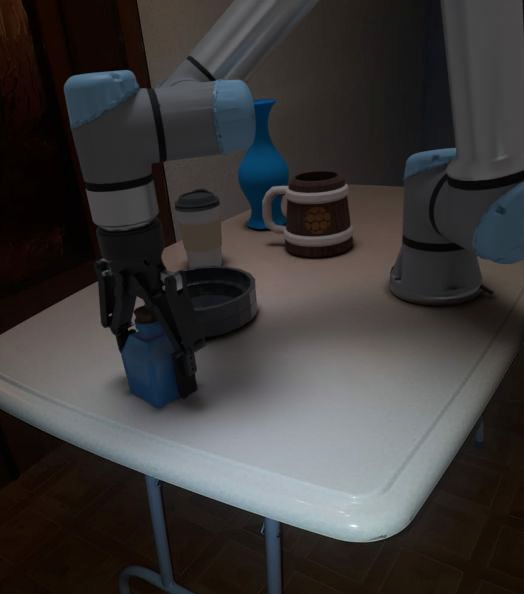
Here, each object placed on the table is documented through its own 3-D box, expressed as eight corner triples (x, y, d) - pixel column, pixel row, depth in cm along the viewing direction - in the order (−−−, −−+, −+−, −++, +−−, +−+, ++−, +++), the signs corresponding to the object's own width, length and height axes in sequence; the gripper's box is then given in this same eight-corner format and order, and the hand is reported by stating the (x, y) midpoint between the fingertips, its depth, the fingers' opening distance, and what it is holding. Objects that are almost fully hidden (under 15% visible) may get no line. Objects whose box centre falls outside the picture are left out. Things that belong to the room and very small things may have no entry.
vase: (299, 218, 140) (293, 96, 126) (280, 233, 130) (271, 104, 117) (256, 216, 145) (245, 99, 131) (234, 231, 135) (220, 106, 121)
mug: (360, 236, 124) (360, 167, 116) (345, 261, 112) (344, 185, 104) (276, 233, 130) (271, 168, 123) (253, 256, 118) (246, 185, 111)
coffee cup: (220, 273, 112) (211, 198, 104) (178, 273, 114) (165, 199, 106) (231, 257, 119) (223, 186, 112) (191, 257, 121) (181, 187, 114)
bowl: (279, 305, 96) (277, 275, 93) (209, 353, 83) (204, 320, 81) (199, 287, 106) (194, 260, 103) (126, 327, 93) (119, 297, 91)
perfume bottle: (130, 392, 76) (111, 313, 70) (166, 372, 79) (150, 295, 74) (158, 408, 72) (140, 325, 66) (194, 386, 76) (180, 306, 70)
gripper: (221, 221, 61) (242, 392, 72) (92, 204, 73) (127, 352, 84) (174, 243, 56) (204, 422, 67) (43, 220, 68) (87, 376, 79)
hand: (161, 383), depth 75 cm, fingers open, 9 cm apart
